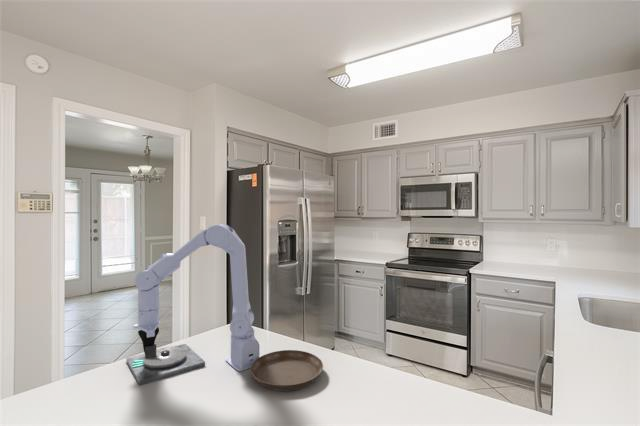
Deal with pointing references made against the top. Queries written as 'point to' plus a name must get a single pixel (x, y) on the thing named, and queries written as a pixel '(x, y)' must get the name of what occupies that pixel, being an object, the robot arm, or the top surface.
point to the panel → (152, 374)
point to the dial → (163, 356)
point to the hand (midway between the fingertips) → (148, 353)
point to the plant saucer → (286, 369)
